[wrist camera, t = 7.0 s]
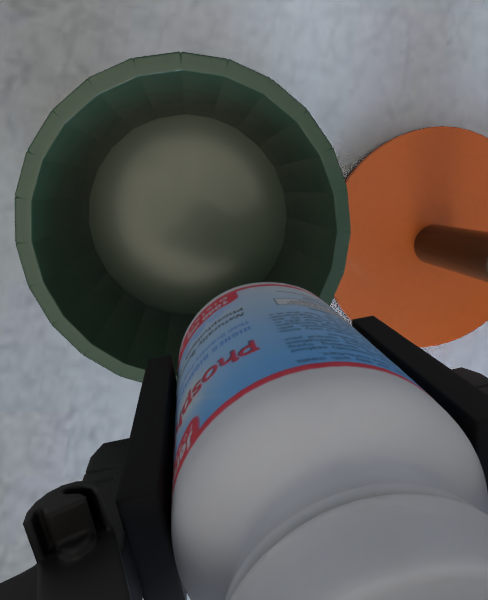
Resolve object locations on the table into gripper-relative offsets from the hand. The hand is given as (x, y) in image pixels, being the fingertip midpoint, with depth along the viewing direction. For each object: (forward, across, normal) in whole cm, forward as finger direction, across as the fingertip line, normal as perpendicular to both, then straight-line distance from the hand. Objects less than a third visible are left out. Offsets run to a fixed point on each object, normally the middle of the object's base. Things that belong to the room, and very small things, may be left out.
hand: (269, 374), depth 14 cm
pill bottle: (+2, 0, 0) cm, 2 cm away
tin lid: (+21, -17, +1) cm, 27 cm away
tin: (+21, +2, -4) cm, 22 cm away
